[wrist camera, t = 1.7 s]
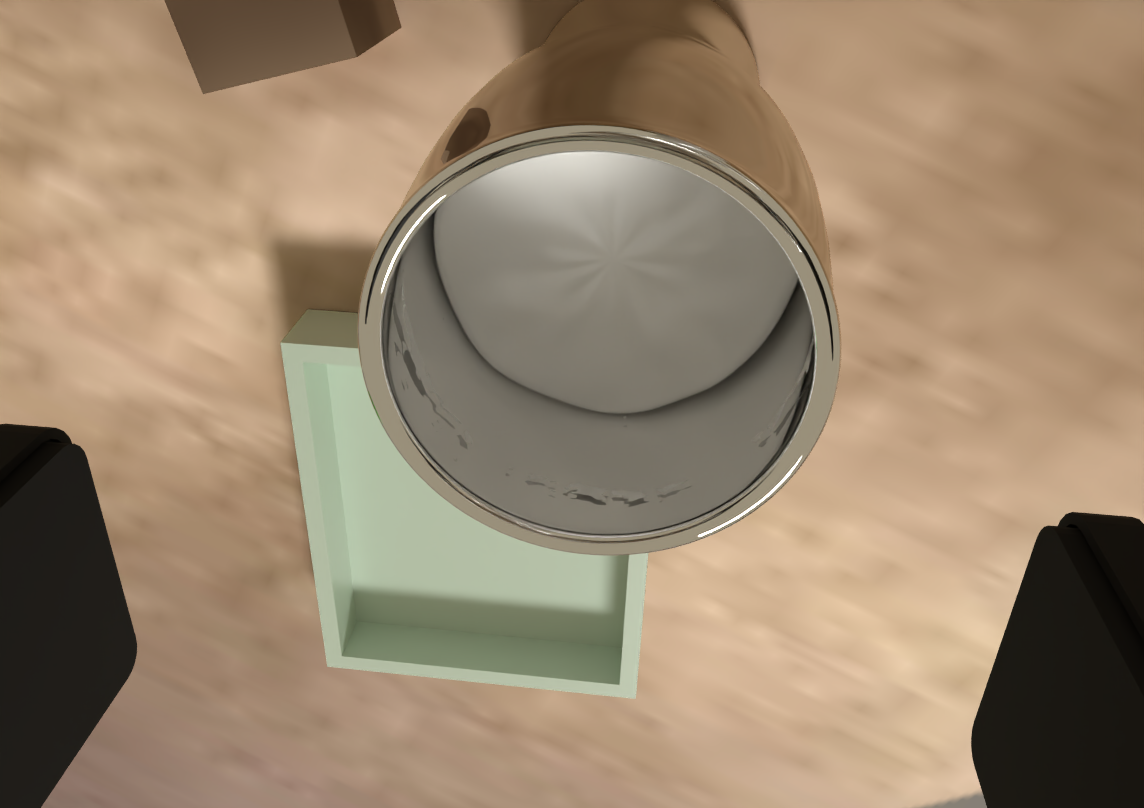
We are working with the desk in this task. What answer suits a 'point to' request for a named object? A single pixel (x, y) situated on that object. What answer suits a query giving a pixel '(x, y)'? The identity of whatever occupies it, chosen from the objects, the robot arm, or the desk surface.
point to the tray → (438, 555)
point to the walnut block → (275, 35)
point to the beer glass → (608, 290)
